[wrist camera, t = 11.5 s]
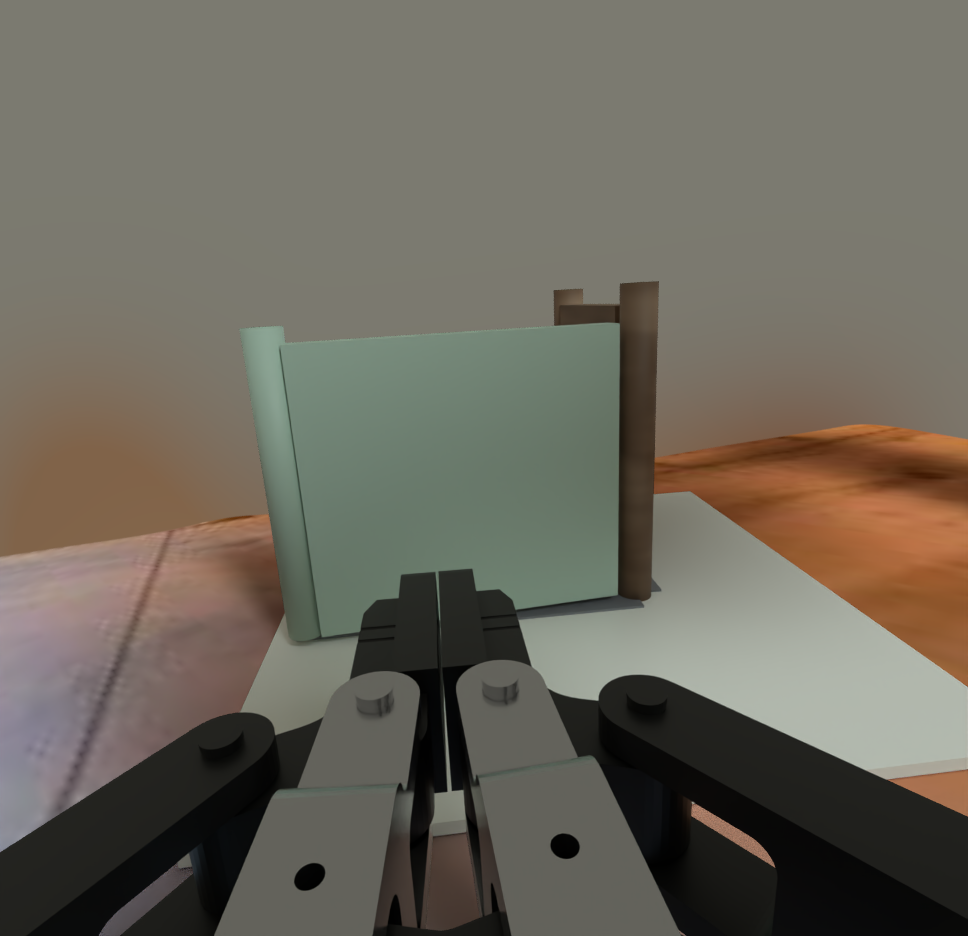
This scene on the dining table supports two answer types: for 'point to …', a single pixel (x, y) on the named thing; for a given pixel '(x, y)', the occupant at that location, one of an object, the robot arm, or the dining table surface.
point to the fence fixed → (629, 420)
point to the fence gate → (438, 465)
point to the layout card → (700, 655)
